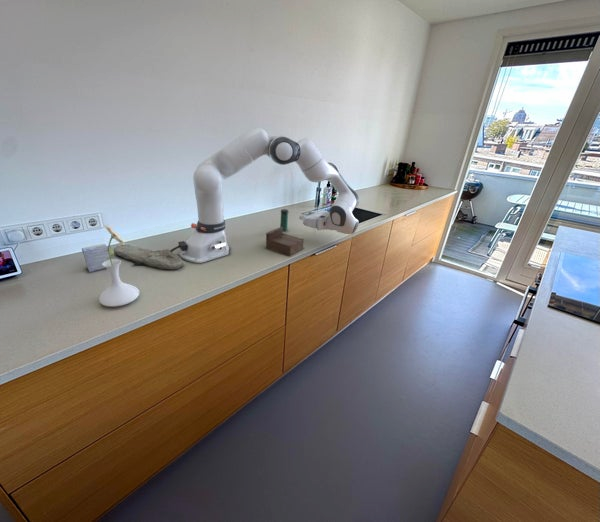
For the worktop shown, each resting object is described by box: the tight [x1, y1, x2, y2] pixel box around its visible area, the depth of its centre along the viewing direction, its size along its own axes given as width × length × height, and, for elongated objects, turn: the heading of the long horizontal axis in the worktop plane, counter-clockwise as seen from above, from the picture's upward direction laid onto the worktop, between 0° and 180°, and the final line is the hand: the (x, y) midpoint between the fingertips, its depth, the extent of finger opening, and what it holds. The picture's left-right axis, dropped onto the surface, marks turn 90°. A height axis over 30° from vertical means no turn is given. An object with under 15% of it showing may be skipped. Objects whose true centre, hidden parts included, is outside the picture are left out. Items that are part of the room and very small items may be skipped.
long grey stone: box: [113, 244, 184, 270], centre depth 120 cm, size 35×5×10 cm
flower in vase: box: [98, 224, 140, 308], centre depth 90 cm, size 13×11×25 cm
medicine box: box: [81, 243, 110, 273], centre depth 111 cm, size 8×4×9 cm, turn 134°
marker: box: [279, 208, 289, 233], centre depth 163 cm, size 4×4×12 cm
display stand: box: [265, 226, 304, 257], centre depth 140 cm, size 12×14×8 cm
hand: (304, 215), depth 154 cm, fingers open, 8 cm apart
